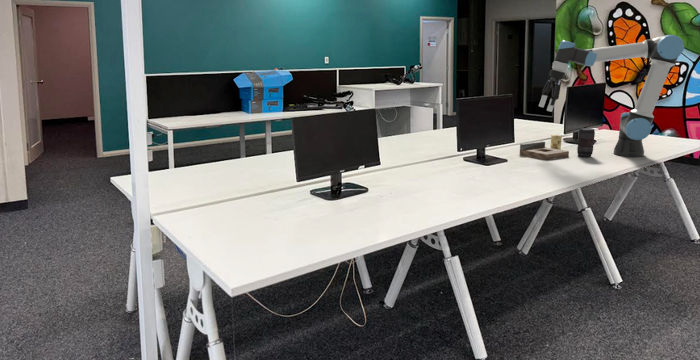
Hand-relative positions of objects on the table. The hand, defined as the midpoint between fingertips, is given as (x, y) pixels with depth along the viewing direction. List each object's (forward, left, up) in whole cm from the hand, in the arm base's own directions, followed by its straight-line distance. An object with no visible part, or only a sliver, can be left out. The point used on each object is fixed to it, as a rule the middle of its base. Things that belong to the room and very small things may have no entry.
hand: (544, 109), depth 303 cm
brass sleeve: (+2, -15, -25) cm, 29 cm away
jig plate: (-4, +2, -25) cm, 25 cm away
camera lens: (-17, -15, -25) cm, 33 cm away
